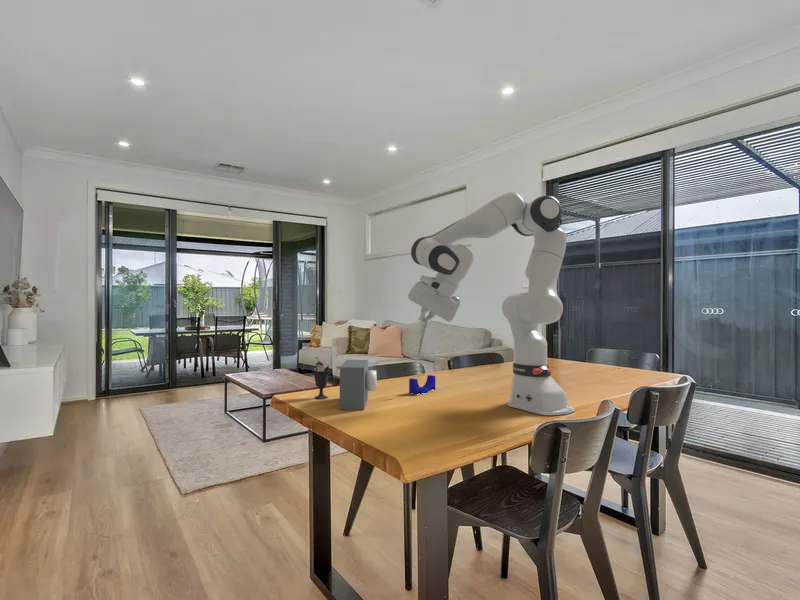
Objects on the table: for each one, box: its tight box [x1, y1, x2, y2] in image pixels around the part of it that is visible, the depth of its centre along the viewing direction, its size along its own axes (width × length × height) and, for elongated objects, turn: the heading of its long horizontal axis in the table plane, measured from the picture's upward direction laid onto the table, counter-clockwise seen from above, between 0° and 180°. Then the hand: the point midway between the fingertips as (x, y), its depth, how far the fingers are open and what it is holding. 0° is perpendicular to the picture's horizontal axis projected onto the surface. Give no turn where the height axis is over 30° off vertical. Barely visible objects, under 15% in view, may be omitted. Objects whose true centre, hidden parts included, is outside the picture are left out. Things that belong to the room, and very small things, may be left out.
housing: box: [339, 359, 369, 411], centre depth 150 cm, size 8×18×14 cm, turn 0°
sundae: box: [311, 356, 331, 400], centre depth 159 cm, size 7×7×15 cm
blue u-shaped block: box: [408, 374, 436, 395], centre depth 169 cm, size 12×4×6 cm, turn 134°
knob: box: [366, 369, 378, 392], centre depth 150 cm, size 9×7×7 cm
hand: (422, 321), depth 152 cm, fingers closed
